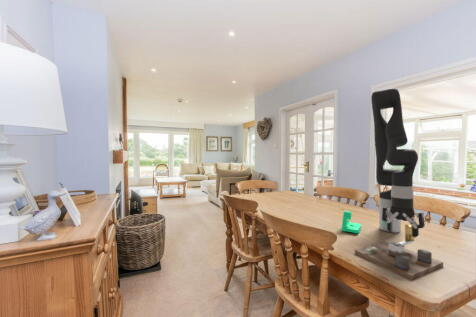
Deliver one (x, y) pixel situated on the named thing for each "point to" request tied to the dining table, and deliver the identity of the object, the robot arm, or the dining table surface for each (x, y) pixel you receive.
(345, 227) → the camera mount
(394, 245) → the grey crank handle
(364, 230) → the dining table surface
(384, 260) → the base
